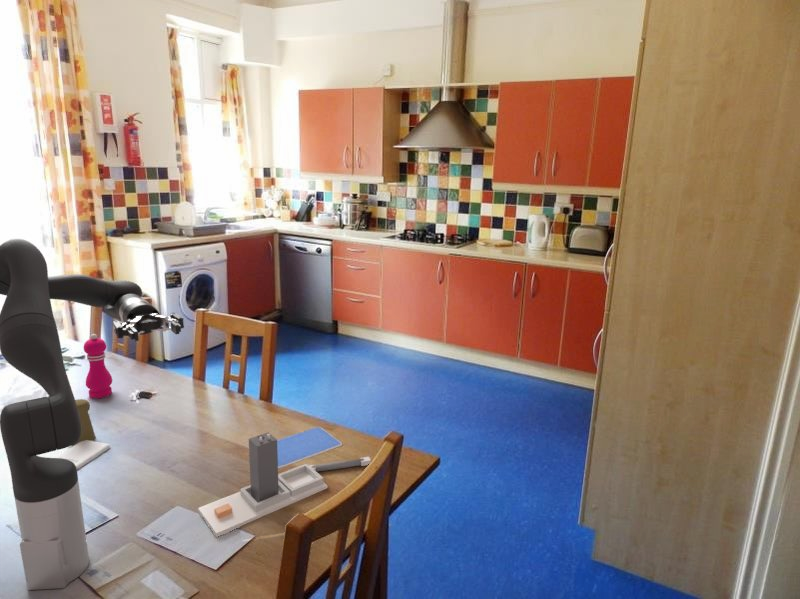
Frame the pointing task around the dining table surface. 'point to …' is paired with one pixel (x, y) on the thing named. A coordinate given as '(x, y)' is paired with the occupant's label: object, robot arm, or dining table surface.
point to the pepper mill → (97, 368)
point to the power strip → (246, 508)
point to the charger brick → (263, 466)
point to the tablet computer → (304, 446)
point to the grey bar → (341, 464)
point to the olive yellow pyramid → (85, 421)
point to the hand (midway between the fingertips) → (157, 333)
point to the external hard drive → (84, 452)
